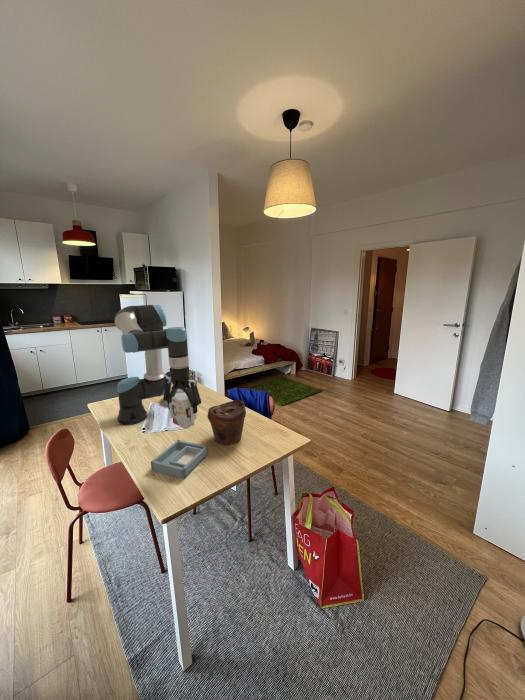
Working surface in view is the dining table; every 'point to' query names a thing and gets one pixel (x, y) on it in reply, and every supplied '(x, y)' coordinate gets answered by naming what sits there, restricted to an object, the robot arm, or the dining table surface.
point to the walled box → (179, 459)
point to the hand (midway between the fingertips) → (183, 418)
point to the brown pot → (227, 421)
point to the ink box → (181, 411)
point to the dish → (176, 394)
